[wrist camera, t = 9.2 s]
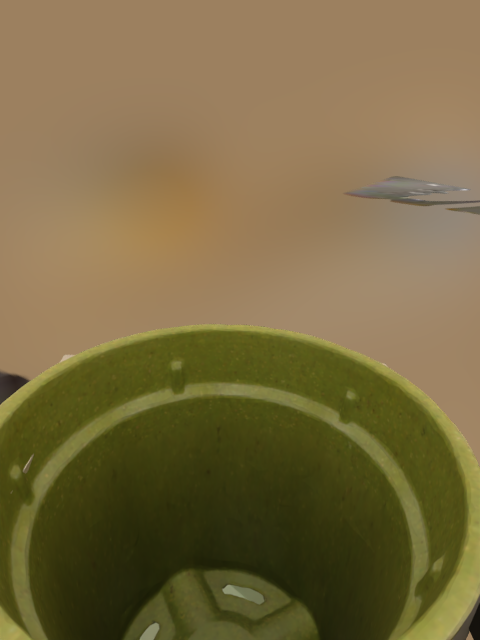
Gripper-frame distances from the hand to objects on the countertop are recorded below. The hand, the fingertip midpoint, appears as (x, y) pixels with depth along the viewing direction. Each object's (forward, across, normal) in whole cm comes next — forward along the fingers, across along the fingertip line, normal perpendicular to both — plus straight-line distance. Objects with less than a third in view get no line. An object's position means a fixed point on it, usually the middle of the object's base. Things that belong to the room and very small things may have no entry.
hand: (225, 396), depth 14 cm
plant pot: (-5, 0, -6) cm, 8 cm away
